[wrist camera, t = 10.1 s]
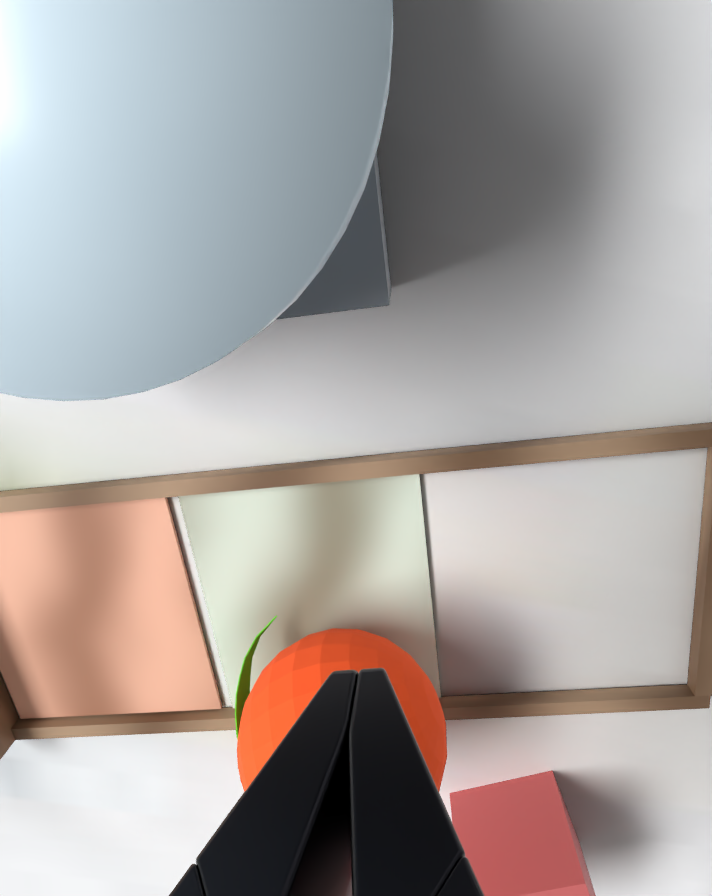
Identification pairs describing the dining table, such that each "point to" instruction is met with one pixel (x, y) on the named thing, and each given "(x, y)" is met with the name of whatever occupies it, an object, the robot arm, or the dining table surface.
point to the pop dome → (173, 177)
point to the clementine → (303, 674)
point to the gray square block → (353, 262)
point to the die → (521, 838)
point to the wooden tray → (259, 586)
